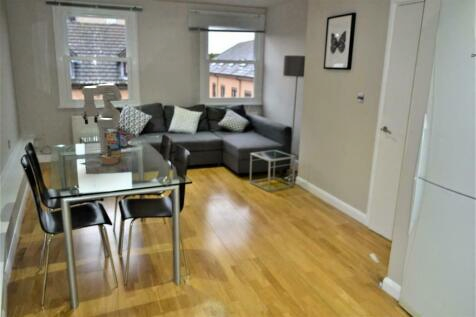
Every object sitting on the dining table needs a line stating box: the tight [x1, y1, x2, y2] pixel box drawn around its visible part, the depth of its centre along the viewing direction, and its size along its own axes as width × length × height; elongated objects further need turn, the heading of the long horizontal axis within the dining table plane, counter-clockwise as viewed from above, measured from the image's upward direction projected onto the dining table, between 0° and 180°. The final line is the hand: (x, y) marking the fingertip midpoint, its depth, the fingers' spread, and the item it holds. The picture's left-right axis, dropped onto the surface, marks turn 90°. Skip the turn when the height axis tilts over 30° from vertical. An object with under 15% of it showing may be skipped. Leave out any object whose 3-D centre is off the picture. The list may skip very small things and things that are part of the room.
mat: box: [80, 159, 102, 167], centre depth 299 cm, size 13×13×1 cm
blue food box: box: [105, 131, 122, 159], centre depth 315 cm, size 7×11×22 cm, turn 121°
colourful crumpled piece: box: [117, 129, 135, 148], centre depth 367 cm, size 20×22×18 cm
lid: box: [99, 149, 119, 160], centre depth 299 cm, size 14×14×6 cm
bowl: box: [100, 157, 119, 165], centre depth 300 cm, size 12×12×5 cm
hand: (91, 123), depth 307 cm, fingers open, 9 cm apart
